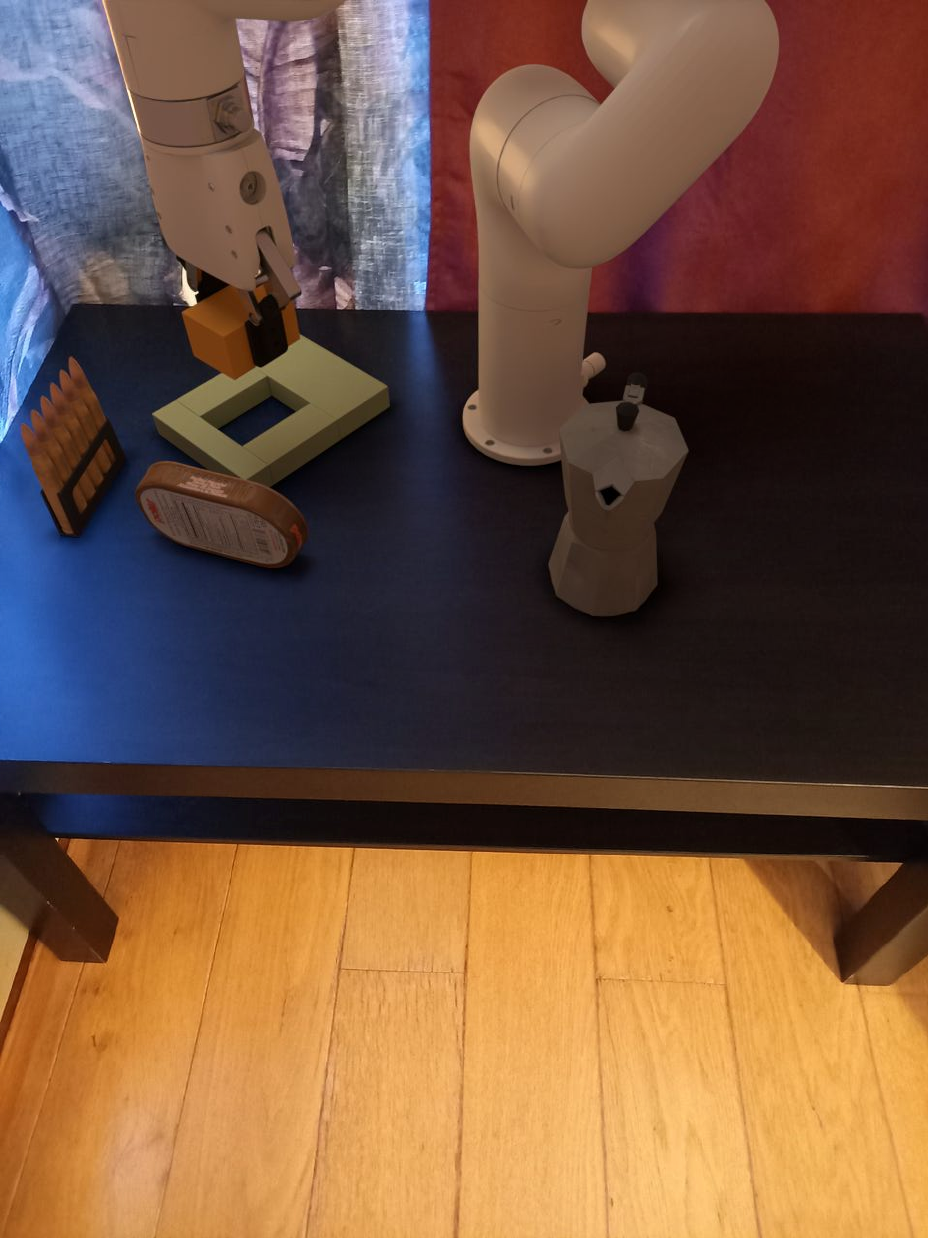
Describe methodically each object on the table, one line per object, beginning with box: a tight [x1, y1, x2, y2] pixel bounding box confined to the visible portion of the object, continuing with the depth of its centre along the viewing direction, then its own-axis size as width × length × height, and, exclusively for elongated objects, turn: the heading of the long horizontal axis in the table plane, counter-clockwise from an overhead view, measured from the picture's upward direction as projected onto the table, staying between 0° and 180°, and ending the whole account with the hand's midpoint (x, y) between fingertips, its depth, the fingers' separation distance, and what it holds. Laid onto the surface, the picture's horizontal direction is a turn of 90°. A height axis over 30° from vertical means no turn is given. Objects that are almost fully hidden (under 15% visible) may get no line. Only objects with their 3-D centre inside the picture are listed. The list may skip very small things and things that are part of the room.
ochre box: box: [181, 285, 300, 380], centre depth 74 cm, size 7×5×4 cm
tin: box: [134, 460, 309, 569], centre depth 79 cm, size 15×3×8 cm, turn 71°
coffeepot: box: [547, 372, 689, 617], centre depth 73 cm, size 15×9×18 cm, turn 165°
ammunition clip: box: [20, 356, 127, 538], centre depth 82 cm, size 11×2×12 cm, turn 170°
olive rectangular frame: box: [151, 333, 391, 488], centre depth 92 cm, size 18×14×2 cm
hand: (246, 342), depth 75 cm, fingers closed on ochre box, 5 cm apart
